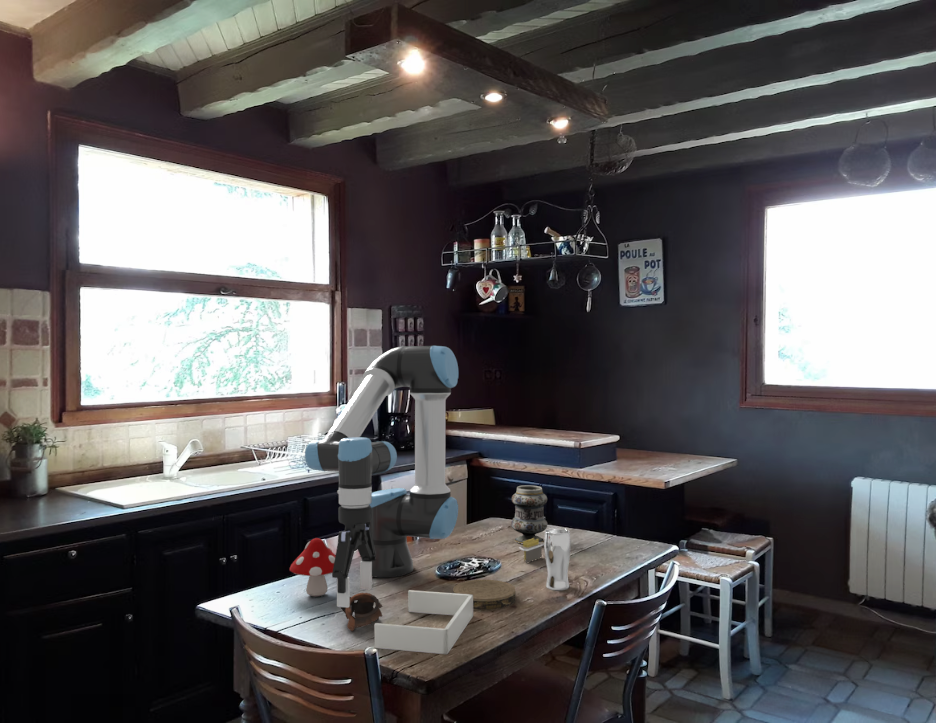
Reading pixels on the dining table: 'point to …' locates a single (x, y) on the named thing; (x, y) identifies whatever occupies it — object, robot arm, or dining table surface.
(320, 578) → the decorative mushroom
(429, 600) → the bin
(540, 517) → the apothecary jar
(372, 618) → the pottery mug
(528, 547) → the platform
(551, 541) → the beer glass
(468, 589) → the wood slice
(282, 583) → the dining table surface
